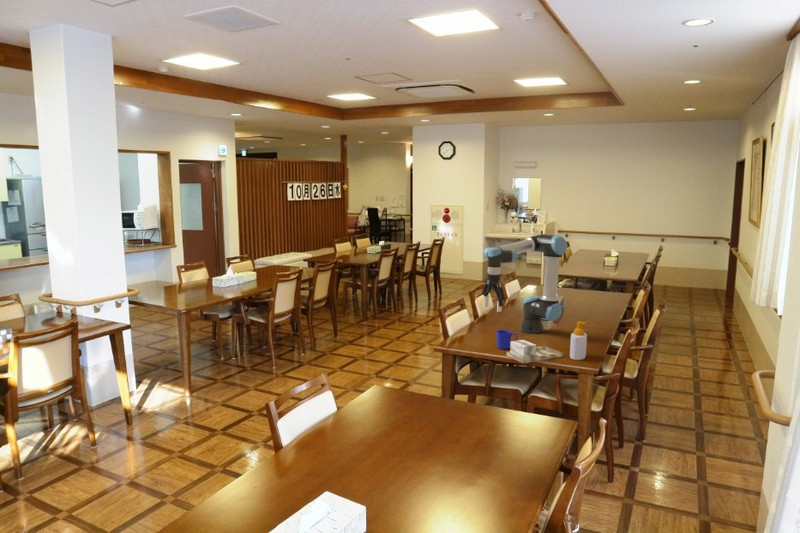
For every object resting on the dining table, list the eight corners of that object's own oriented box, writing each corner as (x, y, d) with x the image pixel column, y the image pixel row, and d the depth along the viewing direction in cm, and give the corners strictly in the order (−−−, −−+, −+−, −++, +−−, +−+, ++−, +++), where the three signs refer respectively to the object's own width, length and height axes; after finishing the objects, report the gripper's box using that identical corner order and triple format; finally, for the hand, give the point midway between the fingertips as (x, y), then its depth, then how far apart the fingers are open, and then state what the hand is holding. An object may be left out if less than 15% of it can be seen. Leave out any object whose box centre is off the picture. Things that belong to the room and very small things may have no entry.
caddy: (544, 349, 324) (545, 334, 323) (562, 356, 311) (563, 341, 310) (506, 355, 312) (506, 340, 311) (523, 363, 299) (524, 347, 297)
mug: (516, 351, 321) (517, 334, 319) (496, 349, 323) (496, 333, 322) (516, 347, 329) (517, 330, 327) (496, 345, 331) (496, 329, 330)
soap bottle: (582, 361, 302) (584, 325, 299) (567, 358, 307) (569, 323, 304) (588, 355, 314) (590, 320, 311) (573, 352, 318) (575, 318, 315)
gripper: (476, 271, 333) (475, 305, 336) (501, 277, 311) (499, 314, 314) (487, 270, 336) (486, 304, 339) (512, 276, 314) (510, 313, 317)
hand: (492, 309), depth 326 cm, fingers open, 13 cm apart
